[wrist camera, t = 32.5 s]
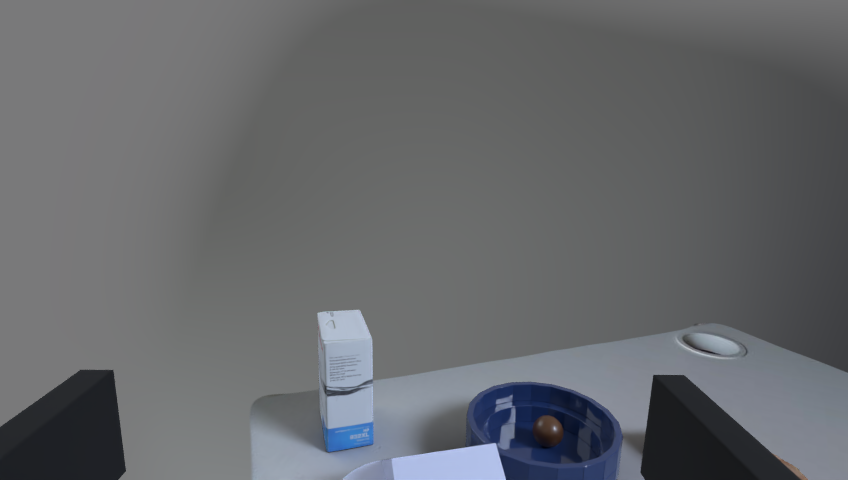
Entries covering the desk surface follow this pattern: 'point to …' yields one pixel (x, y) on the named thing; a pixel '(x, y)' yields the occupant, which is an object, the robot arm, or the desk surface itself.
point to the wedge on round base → (437, 466)
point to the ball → (547, 431)
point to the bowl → (519, 451)
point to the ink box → (345, 379)
